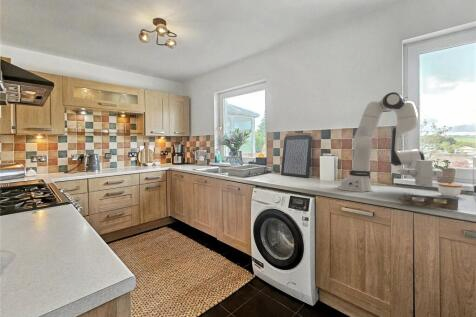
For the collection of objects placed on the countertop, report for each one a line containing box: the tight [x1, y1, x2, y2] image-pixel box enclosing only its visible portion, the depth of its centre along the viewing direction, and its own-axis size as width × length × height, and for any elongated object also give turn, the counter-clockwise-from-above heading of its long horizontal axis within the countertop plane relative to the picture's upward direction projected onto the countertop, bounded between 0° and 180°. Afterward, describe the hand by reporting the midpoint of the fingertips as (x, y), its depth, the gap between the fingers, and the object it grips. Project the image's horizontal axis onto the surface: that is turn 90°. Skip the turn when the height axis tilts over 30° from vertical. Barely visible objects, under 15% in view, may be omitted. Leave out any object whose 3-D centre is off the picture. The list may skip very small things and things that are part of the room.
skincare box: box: [414, 159, 433, 188], centre depth 130 cm, size 8×6×15 cm
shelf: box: [398, 193, 459, 210], centre depth 123 cm, size 22×14×6 cm, turn 63°
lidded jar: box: [437, 181, 462, 198], centre depth 141 cm, size 11×11×9 cm
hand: (423, 173), depth 130 cm, fingers closed on skincare box, 6 cm apart
